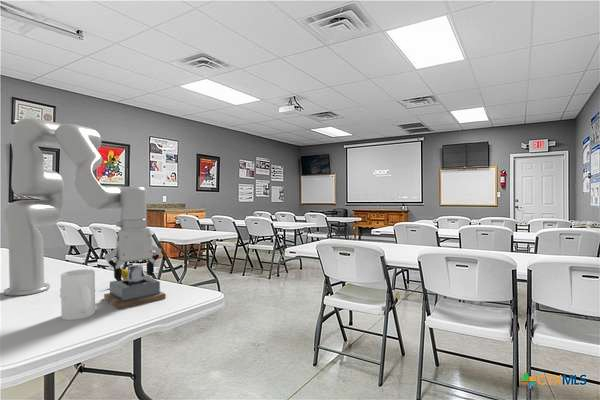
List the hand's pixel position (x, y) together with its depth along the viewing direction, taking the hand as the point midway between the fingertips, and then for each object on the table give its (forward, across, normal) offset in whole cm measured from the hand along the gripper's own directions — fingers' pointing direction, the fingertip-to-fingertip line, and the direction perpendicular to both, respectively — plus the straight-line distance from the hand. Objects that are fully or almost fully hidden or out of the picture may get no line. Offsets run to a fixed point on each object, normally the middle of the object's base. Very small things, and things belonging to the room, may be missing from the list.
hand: (134, 277), depth 111 cm
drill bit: (+7, +5, +20) cm, 22 cm away
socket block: (+5, 0, 0) cm, 5 cm away
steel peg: (+5, 0, 0) cm, 5 cm away
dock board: (+7, 0, 0) cm, 7 cm away
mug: (+7, -17, -6) cm, 19 cm away
